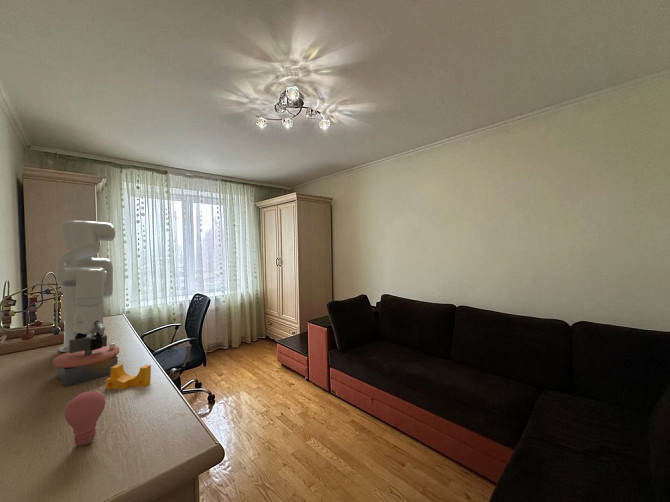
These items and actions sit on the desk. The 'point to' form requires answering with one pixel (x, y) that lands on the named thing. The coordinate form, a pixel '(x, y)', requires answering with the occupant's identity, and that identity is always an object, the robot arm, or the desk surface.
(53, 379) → the desk surface
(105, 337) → the handwheel
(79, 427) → the light bulb
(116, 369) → the pipe clamp
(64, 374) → the block
